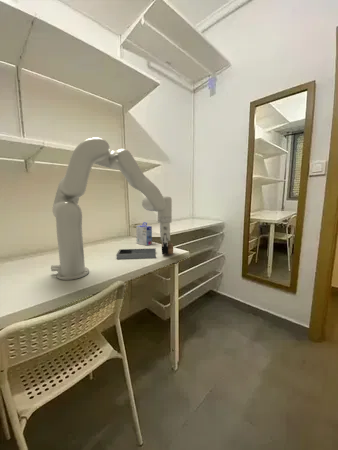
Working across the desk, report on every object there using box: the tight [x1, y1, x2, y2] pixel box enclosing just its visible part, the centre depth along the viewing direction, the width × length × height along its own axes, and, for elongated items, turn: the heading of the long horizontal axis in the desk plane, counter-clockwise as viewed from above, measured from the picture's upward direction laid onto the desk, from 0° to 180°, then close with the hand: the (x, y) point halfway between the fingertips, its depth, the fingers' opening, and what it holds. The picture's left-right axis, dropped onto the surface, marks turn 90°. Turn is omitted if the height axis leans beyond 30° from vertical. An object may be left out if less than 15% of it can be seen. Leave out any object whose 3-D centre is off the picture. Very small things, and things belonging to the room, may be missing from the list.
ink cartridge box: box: [135, 221, 153, 246], centre depth 140 cm, size 10×6×14 cm, turn 53°
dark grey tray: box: [115, 247, 157, 260], centre depth 115 cm, size 20×10×2 cm, turn 94°
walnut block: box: [163, 242, 174, 255], centre depth 116 cm, size 6×5×5 cm
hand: (164, 251), depth 116 cm, fingers closed on walnut block, 5 cm apart
